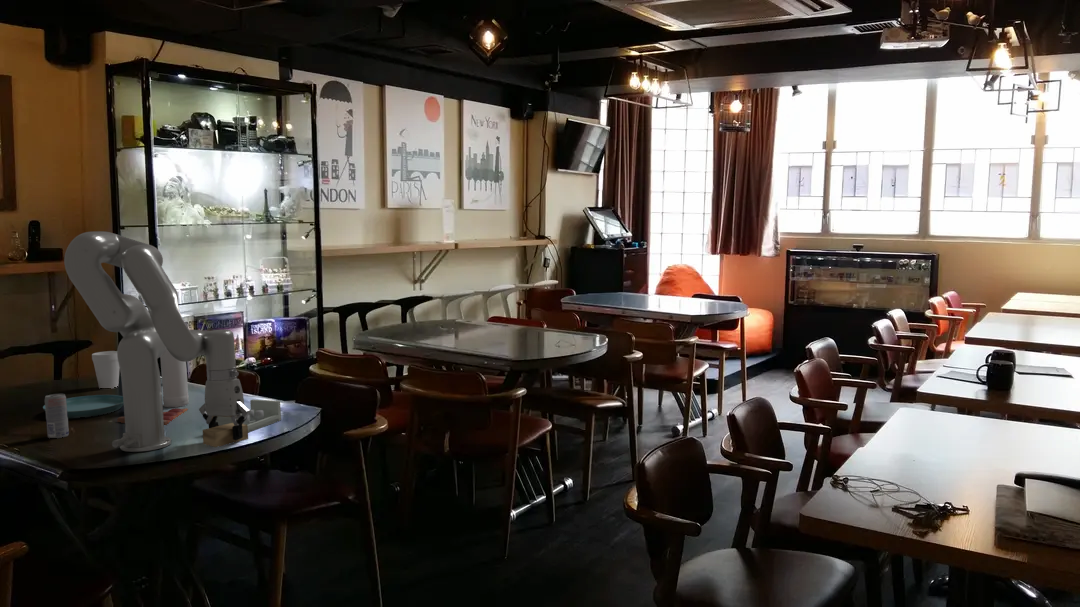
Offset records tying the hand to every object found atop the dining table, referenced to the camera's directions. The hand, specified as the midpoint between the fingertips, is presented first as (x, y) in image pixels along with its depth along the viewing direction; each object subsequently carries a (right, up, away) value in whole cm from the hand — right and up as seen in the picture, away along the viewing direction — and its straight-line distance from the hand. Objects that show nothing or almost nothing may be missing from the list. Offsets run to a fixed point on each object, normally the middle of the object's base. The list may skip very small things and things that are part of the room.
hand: (226, 437), depth 235 cm
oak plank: (0, -1, 0) cm, 1 cm away
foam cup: (-75, +5, +83) cm, 112 cm away
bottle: (-35, +3, +49) cm, 60 cm away
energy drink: (-52, -1, +10) cm, 53 cm away
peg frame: (0, +1, +17) cm, 17 cm away
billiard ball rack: (-31, +1, +32) cm, 45 cm away
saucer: (-61, +1, +43) cm, 75 cm away
